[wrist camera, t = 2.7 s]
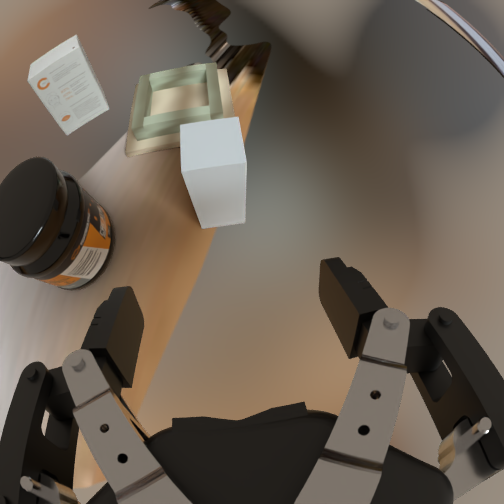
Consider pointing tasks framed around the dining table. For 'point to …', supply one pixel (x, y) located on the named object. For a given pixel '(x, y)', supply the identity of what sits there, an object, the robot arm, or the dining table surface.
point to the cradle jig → (176, 105)
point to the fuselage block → (215, 170)
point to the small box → (68, 85)
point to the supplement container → (53, 227)
